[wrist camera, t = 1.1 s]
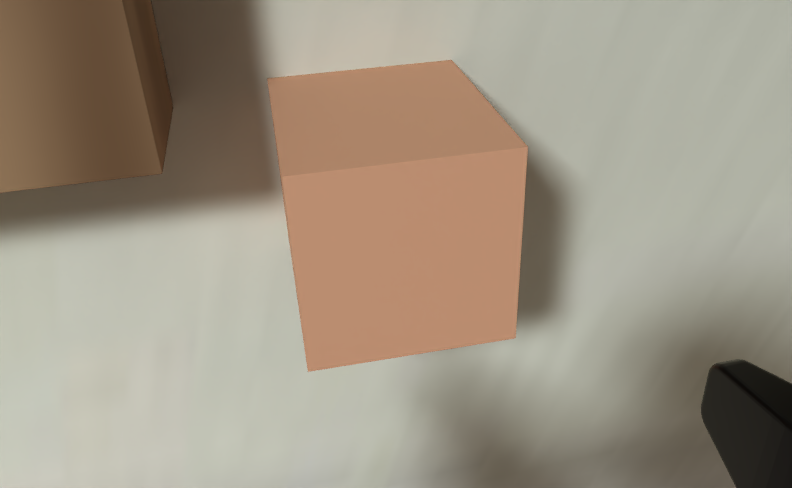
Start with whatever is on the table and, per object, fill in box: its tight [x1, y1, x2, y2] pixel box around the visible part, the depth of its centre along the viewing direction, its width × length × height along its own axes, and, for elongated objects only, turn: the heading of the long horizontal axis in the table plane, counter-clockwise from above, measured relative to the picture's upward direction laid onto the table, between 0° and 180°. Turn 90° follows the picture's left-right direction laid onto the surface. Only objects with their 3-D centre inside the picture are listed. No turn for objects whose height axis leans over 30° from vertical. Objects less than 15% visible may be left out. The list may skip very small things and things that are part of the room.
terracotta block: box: [267, 60, 528, 372], centre depth 18 cm, size 5×5×6 cm
